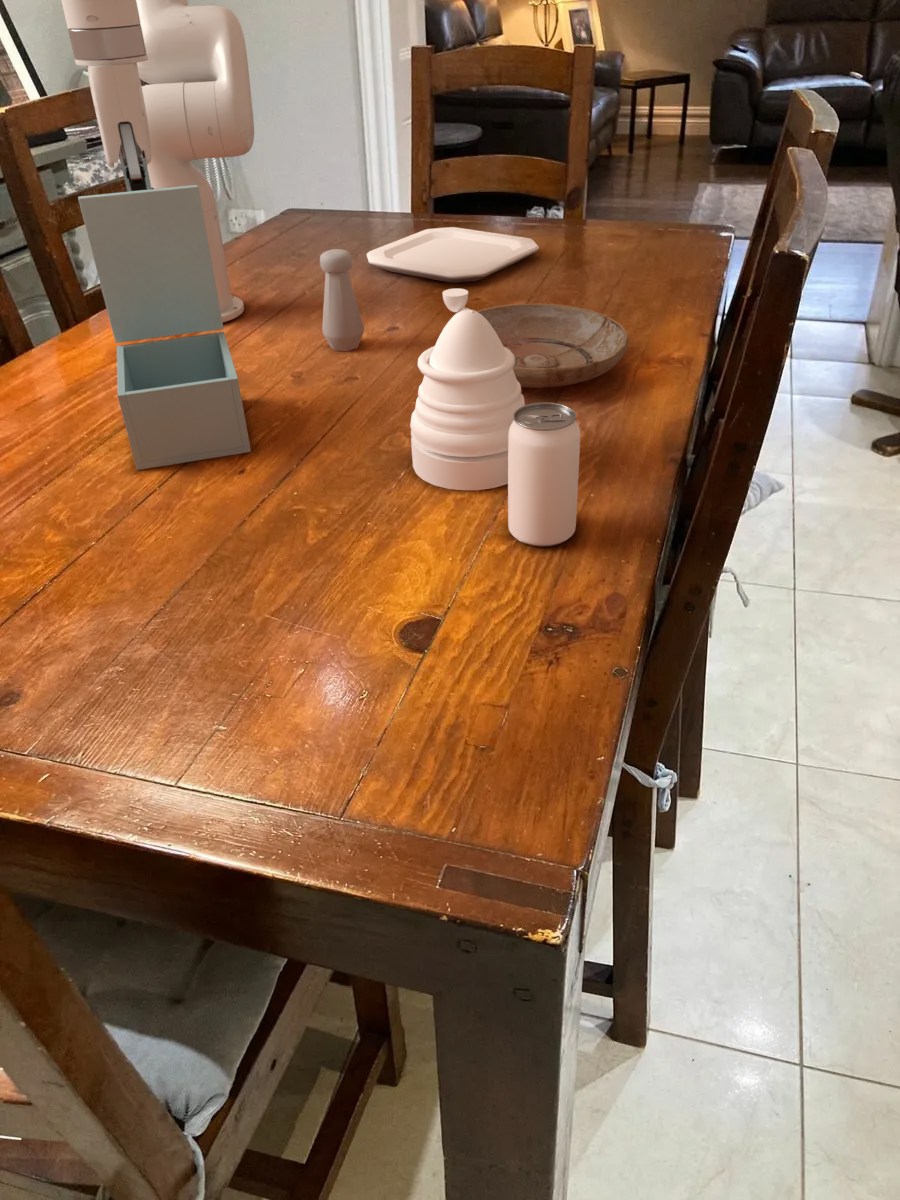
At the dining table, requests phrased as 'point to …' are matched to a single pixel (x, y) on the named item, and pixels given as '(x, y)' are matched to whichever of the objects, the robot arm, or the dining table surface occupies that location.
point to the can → (543, 474)
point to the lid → (153, 262)
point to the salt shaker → (340, 302)
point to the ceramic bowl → (557, 342)
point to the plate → (452, 254)
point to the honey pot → (464, 403)
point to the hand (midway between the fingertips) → (147, 225)
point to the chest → (181, 400)
